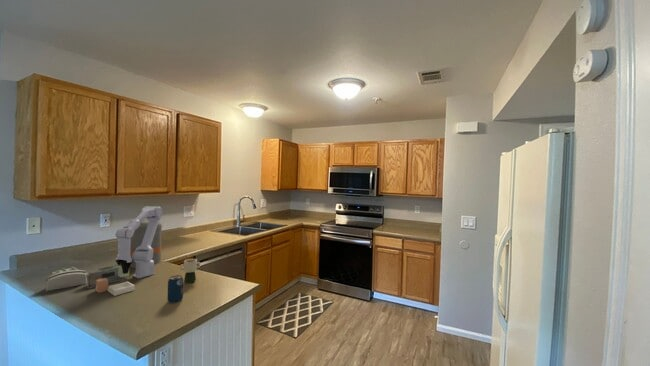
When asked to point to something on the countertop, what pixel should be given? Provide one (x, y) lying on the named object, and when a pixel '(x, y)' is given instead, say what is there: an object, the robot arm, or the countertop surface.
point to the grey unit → (104, 275)
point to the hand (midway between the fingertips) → (123, 272)
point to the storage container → (138, 238)
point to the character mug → (190, 269)
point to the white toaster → (67, 270)
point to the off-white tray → (121, 288)
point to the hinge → (66, 279)
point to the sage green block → (121, 272)
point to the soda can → (175, 289)
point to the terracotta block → (102, 285)
